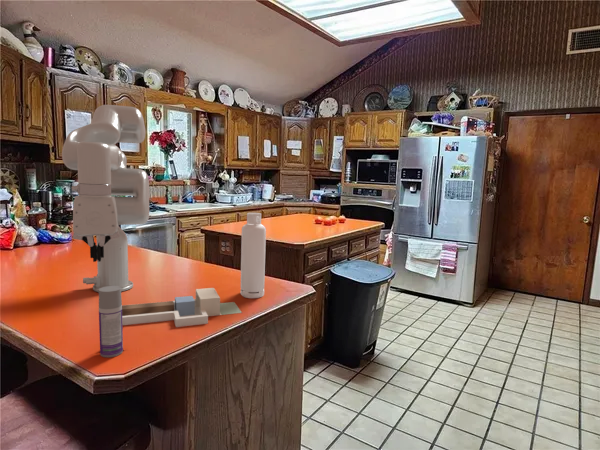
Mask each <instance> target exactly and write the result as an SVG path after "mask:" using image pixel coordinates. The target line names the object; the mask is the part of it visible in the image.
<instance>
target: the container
mask: <svg viewBox="0 0 600 450" xmlns="http://www.w3.org/2000/svg"><path fill="white" fill-rule="evenodd" d="M122 300H123V299H122V291H121V287H119V286H106V287H102V288H100V289H99V292H98V327H99V332H98V333H99V354H100V355H99V356H101V357H103V358H114V357H117V356H120V355H122V354H123V352H124V340H123V339H124V338H123V336H124V335H123V325H122V305H123V303H122V302H123V301H122Z"/></svg>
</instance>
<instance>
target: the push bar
mask: <svg viewBox="0 0 600 450" xmlns="http://www.w3.org/2000/svg"><path fill="white" fill-rule="evenodd" d="M167 301H168V300H167ZM167 301H160V302H159V301H158V302H157V303H156V302H147V303H146V302H144V303H145V304H144V303H136V304H135V303H134V305H133V304H124V305H123V304H122V305H123V306H122V316H128V315H138V314H148V313H159V312H169V311H174V302H173V301H174V300H169V301H168V302H167Z"/></svg>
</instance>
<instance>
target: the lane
mask: <svg viewBox="0 0 600 450" xmlns="http://www.w3.org/2000/svg"><path fill="white" fill-rule="evenodd" d="M193 299H194V301H195V315H185V316H179V312H178V311H175V300H172V301H173V302H174V311H169V312H159V313H148V314H138V315H128V316H122V326H129V325H131V326H132V325H138V324H139V325H140V324H148V323H149V324H150V323H158V322H166V321H167V322H168V321H174V326H175V328H181V327H187V326H189V327H190V326H198V325H207V324H209V317H214V316H224V315H225V316H226V315H233V314H243V312H242V311H241V309H240V308H239V306H238V305H237V304H236V303H235V301H231V302H221V297H220V296H219V294H218V292H217V290H216V289H215V288H214V287H207V288H206V287H205V288H195V298H193ZM166 302H168V300H166ZM145 303H146V302H143V304H145ZM155 303H157V302H155ZM134 304H135V303H134ZM134 304H133V303H132V305H134ZM122 306H123V304H122Z"/></svg>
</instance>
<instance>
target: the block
mask: <svg viewBox="0 0 600 450" xmlns="http://www.w3.org/2000/svg"><path fill="white" fill-rule="evenodd" d="M194 299H195V298H194V297H193V295H188V296H186V295H185V296H175V297H174V301H175V311H178V312H179V316H185V315H195V301H194Z"/></svg>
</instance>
